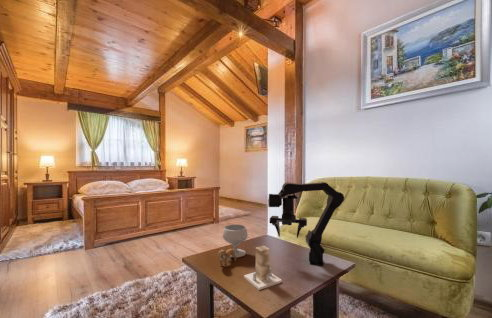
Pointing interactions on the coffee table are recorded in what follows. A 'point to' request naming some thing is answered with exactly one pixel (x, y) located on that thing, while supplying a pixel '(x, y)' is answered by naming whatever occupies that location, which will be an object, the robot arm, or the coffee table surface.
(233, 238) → the chalice
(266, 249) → the birch post
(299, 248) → the coffee table surface
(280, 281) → the peg stand
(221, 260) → the lion figurine
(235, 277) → the coffee table surface
